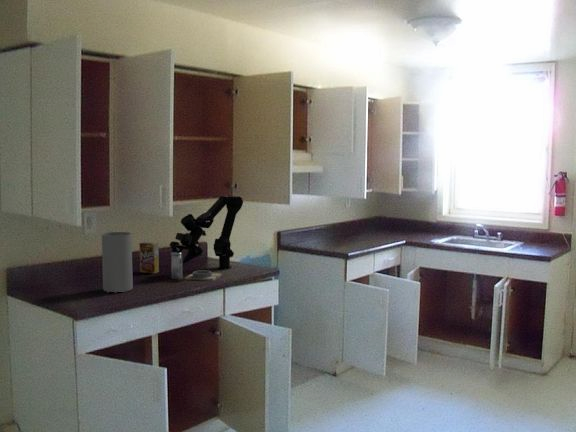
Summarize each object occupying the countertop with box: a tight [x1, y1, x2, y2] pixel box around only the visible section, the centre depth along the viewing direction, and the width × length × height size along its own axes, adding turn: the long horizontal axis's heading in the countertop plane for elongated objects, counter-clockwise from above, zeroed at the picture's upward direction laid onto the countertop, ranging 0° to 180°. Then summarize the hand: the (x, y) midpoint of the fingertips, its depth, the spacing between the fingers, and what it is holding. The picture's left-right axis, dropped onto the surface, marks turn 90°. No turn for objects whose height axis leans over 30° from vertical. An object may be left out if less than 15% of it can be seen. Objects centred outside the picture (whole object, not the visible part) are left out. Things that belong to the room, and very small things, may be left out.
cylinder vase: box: [101, 231, 134, 294], centre depth 256 cm, size 12×12×25 cm
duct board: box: [184, 272, 223, 282], centre depth 286 cm, size 14×14×1 cm
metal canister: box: [170, 251, 184, 280], centre depth 283 cm, size 6×6×12 cm
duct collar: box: [192, 269, 213, 278], centre depth 283 cm, size 9×9×2 cm
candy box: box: [139, 241, 160, 274], centre depth 296 cm, size 9×4×15 cm, turn 69°
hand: (176, 261), depth 283 cm, fingers open, 9 cm apart
